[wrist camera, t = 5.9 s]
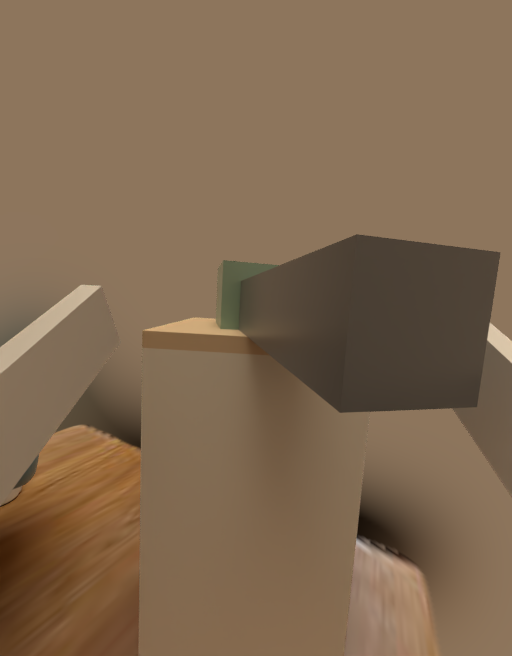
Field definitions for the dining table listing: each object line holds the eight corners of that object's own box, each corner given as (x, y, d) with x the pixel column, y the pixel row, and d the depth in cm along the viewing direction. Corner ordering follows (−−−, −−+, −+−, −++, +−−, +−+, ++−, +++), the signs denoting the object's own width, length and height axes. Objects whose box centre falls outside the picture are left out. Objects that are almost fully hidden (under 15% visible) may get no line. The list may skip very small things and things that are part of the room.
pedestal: (186, 540, 35) (194, 317, 32) (306, 548, 35) (325, 325, 32) (137, 700, 21) (142, 330, 18) (337, 715, 21) (377, 344, 18)
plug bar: (215, 322, 27) (217, 268, 26) (280, 324, 29) (283, 273, 28) (277, 415, 6) (296, 147, 5) (520, 405, 7) (554, 197, 7)
